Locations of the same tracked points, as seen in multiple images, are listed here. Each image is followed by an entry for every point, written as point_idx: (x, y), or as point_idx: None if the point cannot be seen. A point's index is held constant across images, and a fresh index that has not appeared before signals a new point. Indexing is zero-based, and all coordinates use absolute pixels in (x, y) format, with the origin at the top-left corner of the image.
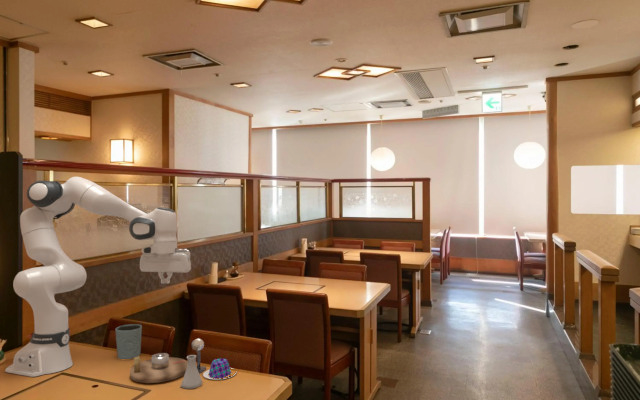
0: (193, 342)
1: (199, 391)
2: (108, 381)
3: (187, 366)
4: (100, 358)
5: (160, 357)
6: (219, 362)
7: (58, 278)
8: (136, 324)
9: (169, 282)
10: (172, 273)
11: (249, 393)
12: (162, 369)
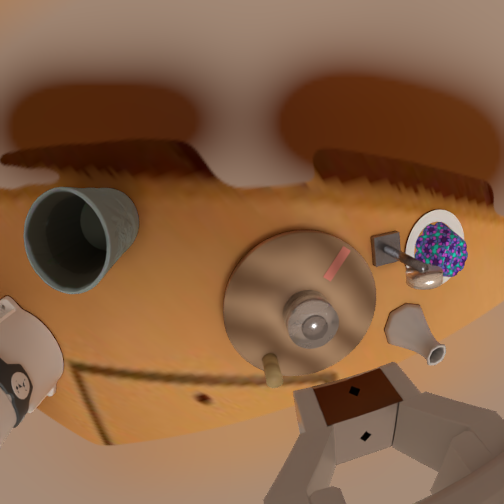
0: (418, 287)
1: None
2: (210, 377)
3: (419, 353)
4: None
5: (323, 336)
6: (453, 260)
7: None
8: (55, 189)
9: (395, 372)
10: (501, 424)
11: (492, 305)
12: None
